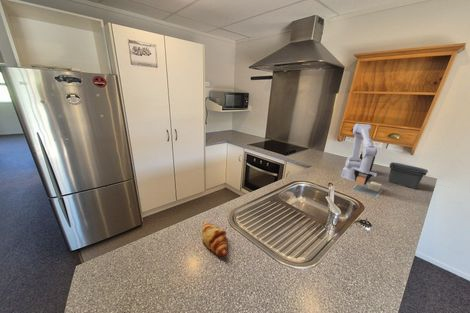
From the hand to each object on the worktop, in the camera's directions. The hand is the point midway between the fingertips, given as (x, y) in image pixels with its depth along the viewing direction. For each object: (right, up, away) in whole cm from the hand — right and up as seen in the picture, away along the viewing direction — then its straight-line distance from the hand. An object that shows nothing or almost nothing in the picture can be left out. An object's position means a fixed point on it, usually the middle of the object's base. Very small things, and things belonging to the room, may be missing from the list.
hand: (360, 182), depth 129 cm
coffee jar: (+26, +4, +35) cm, 44 cm away
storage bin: (+44, -3, +16) cm, 46 cm away
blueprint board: (+6, -6, +2) cm, 9 cm away
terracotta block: (0, -1, 0) cm, 1 cm away
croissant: (-97, -19, -50) cm, 111 cm away
